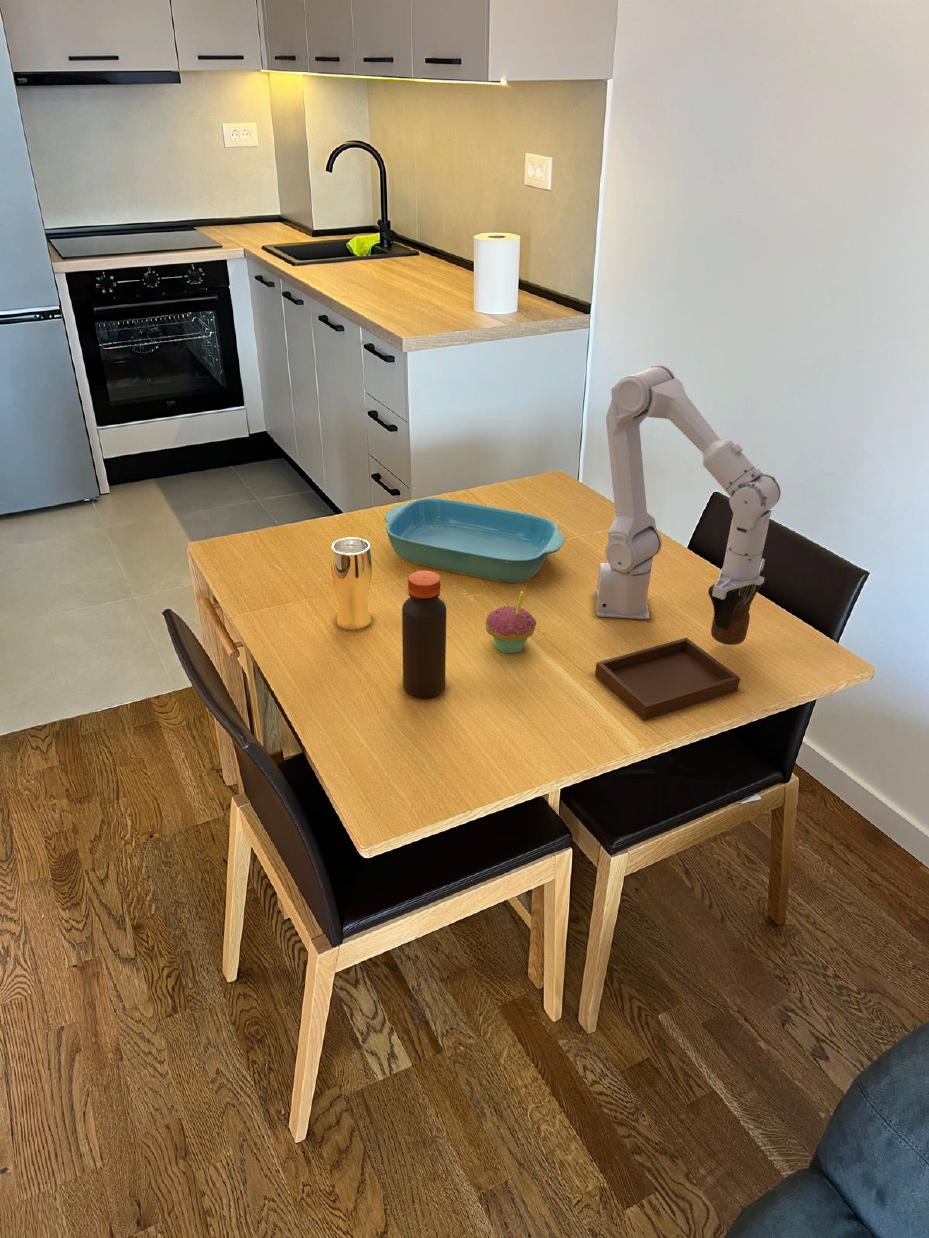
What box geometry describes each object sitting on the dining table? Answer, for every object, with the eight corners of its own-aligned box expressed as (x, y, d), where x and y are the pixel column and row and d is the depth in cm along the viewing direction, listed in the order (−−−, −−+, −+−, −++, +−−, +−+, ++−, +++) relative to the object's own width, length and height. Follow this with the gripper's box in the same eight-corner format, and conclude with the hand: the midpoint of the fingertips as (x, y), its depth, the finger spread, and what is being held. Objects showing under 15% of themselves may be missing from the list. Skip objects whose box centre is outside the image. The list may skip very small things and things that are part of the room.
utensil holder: (751, 644, 160) (765, 582, 154) (717, 647, 159) (729, 585, 152) (735, 626, 165) (748, 566, 159) (702, 629, 164) (714, 568, 157)
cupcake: (539, 639, 164) (544, 578, 158) (526, 664, 157) (530, 602, 151) (492, 629, 167) (495, 570, 160) (477, 654, 160) (479, 592, 153)
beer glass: (380, 616, 169) (378, 542, 162) (360, 635, 164) (357, 558, 156) (347, 608, 172) (343, 533, 164) (326, 625, 166) (322, 549, 159)
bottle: (417, 671, 155) (417, 563, 144) (453, 683, 152) (455, 574, 142) (394, 691, 150) (392, 581, 139) (430, 704, 147) (431, 593, 136)
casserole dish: (573, 550, 195) (576, 518, 191) (544, 599, 177) (547, 565, 173) (409, 520, 205) (409, 490, 201) (366, 564, 187) (365, 532, 183)
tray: (644, 720, 145) (646, 707, 143) (594, 675, 155) (596, 662, 154) (737, 691, 152) (740, 677, 151) (684, 650, 162) (686, 637, 161)
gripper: (747, 571, 146) (732, 645, 153) (787, 541, 156) (771, 612, 163) (706, 557, 150) (693, 629, 157) (747, 529, 159) (733, 598, 166)
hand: (730, 619), depth 160 cm, fingers closed on utensil holder, 6 cm apart
